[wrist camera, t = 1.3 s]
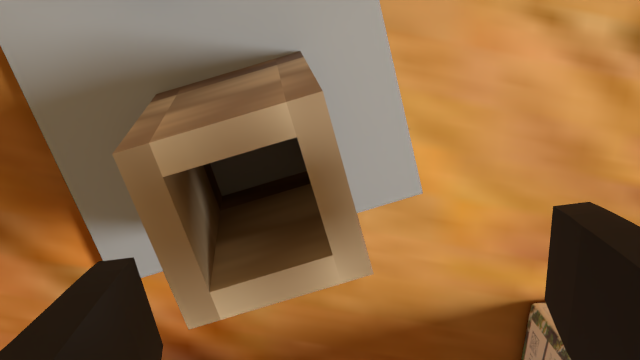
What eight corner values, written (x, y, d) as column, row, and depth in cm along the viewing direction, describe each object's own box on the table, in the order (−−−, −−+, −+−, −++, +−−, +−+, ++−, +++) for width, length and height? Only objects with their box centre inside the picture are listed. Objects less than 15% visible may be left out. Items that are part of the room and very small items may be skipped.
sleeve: (206, 224, 19) (188, 329, 14) (156, 94, 18) (111, 153, 12) (338, 184, 19) (373, 273, 14) (300, 51, 18) (322, 91, 12)
